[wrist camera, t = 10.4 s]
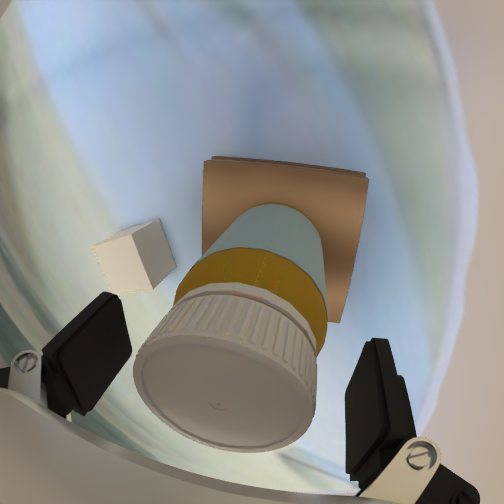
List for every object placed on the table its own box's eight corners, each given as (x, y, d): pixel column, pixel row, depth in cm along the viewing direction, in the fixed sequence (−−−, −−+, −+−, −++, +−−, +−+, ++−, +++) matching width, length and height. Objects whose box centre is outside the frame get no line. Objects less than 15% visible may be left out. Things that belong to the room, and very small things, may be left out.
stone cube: (121, 230, 28) (91, 246, 23) (159, 218, 27) (131, 234, 22) (138, 273, 29) (112, 295, 25) (176, 265, 28) (153, 289, 23)
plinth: (214, 156, 23) (201, 158, 21) (364, 172, 21) (372, 177, 19) (210, 287, 28) (200, 303, 25) (339, 307, 26) (341, 325, 23)
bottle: (338, 261, 21) (361, 434, 8) (262, 300, 24) (207, 463, 10) (288, 182, 20) (240, 275, 6) (212, 231, 23) (90, 357, 9)
